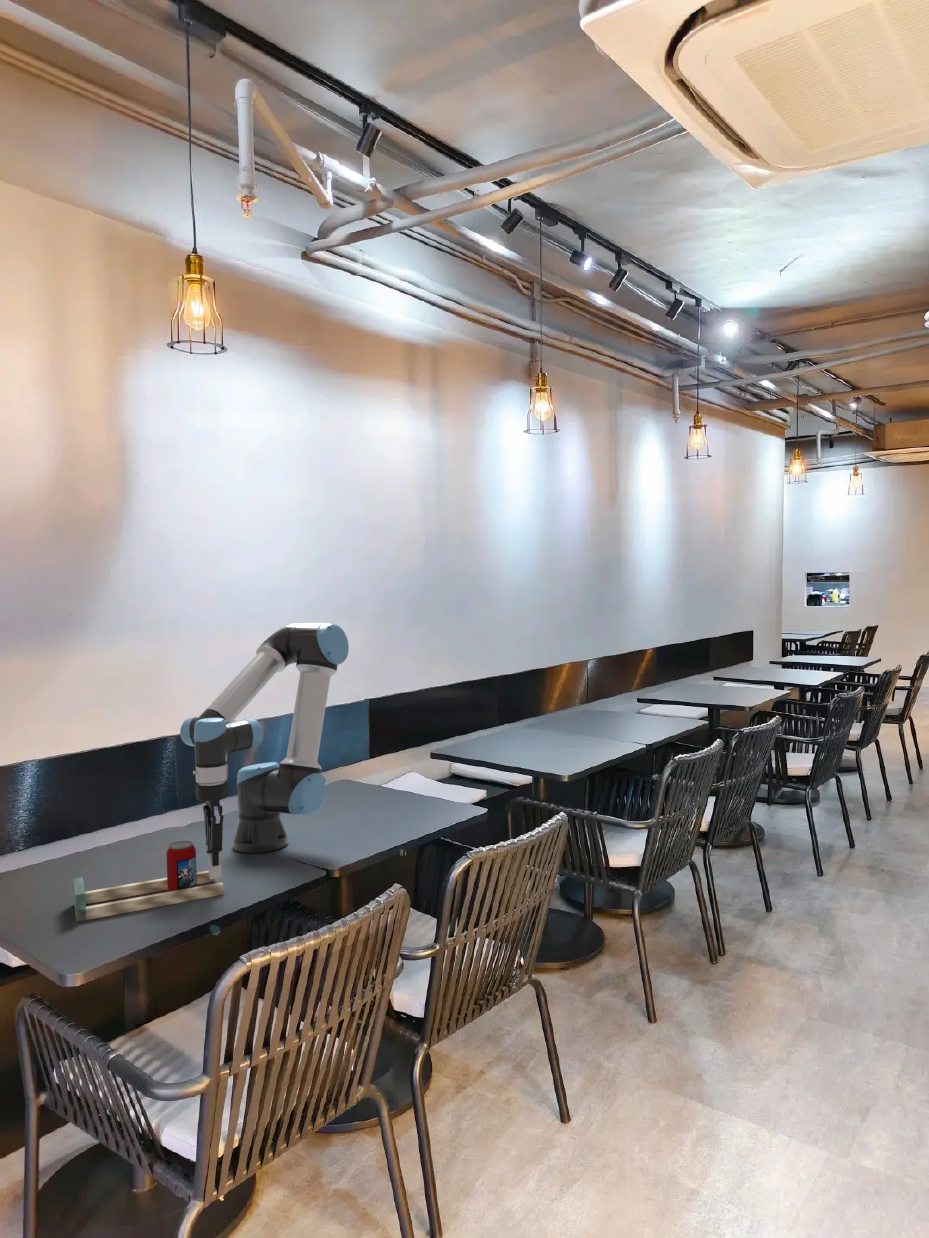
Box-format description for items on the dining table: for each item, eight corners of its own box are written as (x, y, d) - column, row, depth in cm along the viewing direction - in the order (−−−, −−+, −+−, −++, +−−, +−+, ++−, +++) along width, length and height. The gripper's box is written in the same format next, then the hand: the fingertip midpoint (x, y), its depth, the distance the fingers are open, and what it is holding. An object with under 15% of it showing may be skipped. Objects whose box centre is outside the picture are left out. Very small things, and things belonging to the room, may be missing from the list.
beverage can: (188, 899, 196) (186, 849, 196) (162, 897, 198) (160, 847, 197) (202, 888, 203) (200, 840, 202) (177, 887, 204) (175, 839, 204)
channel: (214, 879, 209) (213, 855, 209) (223, 894, 199) (222, 869, 198) (74, 904, 195) (73, 878, 194) (76, 921, 184) (75, 895, 184)
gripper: (191, 778, 207) (194, 872, 208) (200, 789, 195) (204, 888, 196) (222, 775, 210) (225, 867, 211) (233, 785, 199) (236, 882, 199)
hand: (215, 877), depth 203 cm, fingers closed
